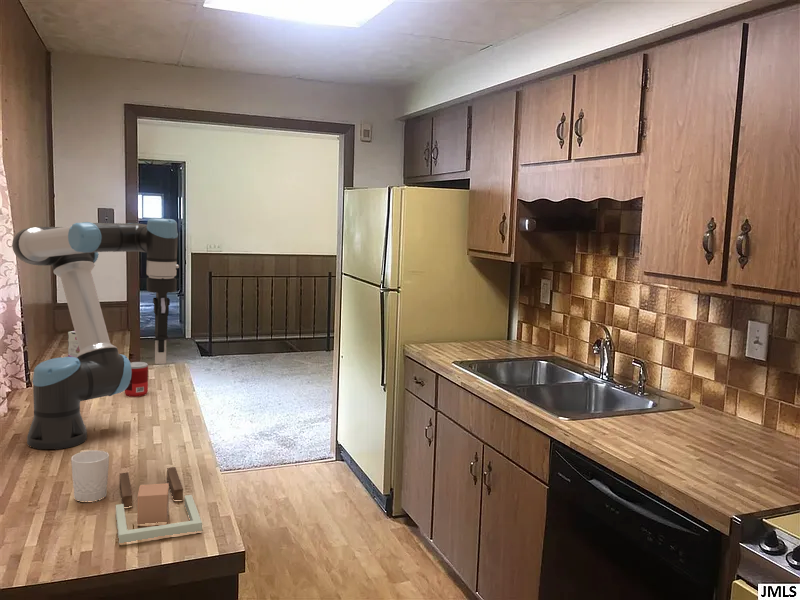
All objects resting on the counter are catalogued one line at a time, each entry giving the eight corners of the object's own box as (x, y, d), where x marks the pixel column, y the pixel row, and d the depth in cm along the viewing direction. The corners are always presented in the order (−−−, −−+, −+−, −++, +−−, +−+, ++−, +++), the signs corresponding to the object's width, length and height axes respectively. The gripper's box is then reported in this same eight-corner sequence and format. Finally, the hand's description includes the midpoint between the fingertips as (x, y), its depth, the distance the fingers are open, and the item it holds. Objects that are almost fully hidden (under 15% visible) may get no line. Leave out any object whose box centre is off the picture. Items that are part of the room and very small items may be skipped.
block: (137, 527, 140) (137, 496, 139) (139, 514, 146) (140, 485, 145) (167, 525, 142) (167, 494, 141) (168, 512, 148) (168, 483, 147)
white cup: (114, 490, 157) (114, 450, 156) (100, 505, 149) (100, 463, 148) (81, 489, 157) (80, 449, 155) (65, 503, 149) (64, 461, 148)
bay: (119, 546, 132) (119, 535, 132) (115, 515, 145) (115, 504, 145) (201, 533, 139) (202, 522, 139) (191, 504, 152) (191, 494, 152)
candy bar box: (99, 372, 263) (99, 332, 261) (90, 375, 258) (90, 334, 256) (77, 369, 266) (76, 329, 264) (67, 371, 261) (67, 331, 259)
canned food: (151, 392, 240) (151, 362, 239) (141, 397, 232) (141, 367, 231) (131, 390, 241) (131, 361, 239) (120, 396, 233) (120, 366, 232)
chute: (122, 509, 148) (122, 496, 147) (119, 485, 160) (119, 473, 160) (182, 501, 154) (183, 488, 153) (175, 478, 166) (175, 466, 166)
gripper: (179, 280, 170) (177, 368, 173) (174, 274, 182) (172, 357, 185) (148, 279, 167) (147, 369, 170) (145, 273, 179) (144, 358, 182)
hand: (160, 362), depth 178 cm, fingers closed
